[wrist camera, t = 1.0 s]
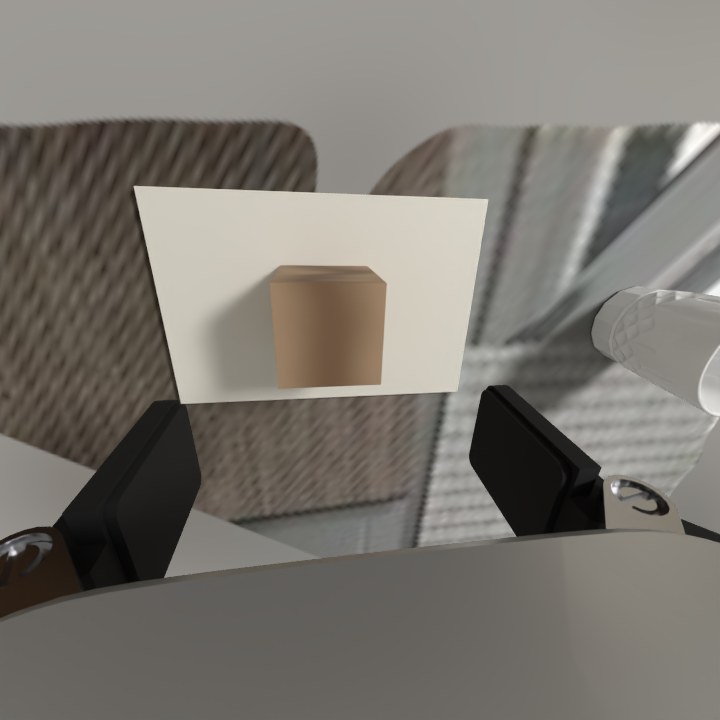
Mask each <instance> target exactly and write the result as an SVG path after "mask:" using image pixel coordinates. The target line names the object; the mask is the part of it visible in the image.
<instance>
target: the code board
mask: <svg viewBox="0 0 720 720" xmlns="http://www.w3.org/2000/svg"><path fill="white" fill-rule="evenodd" d="M134 190H135V195H136V199H137V204H138V209H139V213H140V218H141V222H142V227H143V232H144V236H145V241H146V245H147V250H148V254H149V259H150V264H151V268H152V273H153V277H154V282H155V287H156V291H157V296H158V300H159V305H160V310H161V314H162V319H163V323H164V328H165V332H166V337H167V342H168V346H169V351H170V355H171V360H172V365H173V369H174V374H175V378H176V383H177V388H178V392H179V397H180V401H181V404H192V403H214V402H236V401H259V400H281V399H303V398H326V397H348V396H370V395H393V394H415V393H437V392H457V390H458V383H459V377H460V371H461V365H462V359H463V353H464V346H465V340H466V334H467V328H468V322H469V316H470V309H471V303H472V297H473V291H474V285H475V278H476V272H477V266H478V260H479V254H480V248H481V241H482V235H483V229H484V223H485V217H486V211H487V204H488V199H465V198H439V197H412V196H385V195H359V194H332V193H331V194H330V193H306V192H279V191H252V190H226V189H199V188H172V187H146V186H134ZM280 265H306V266H368V267H369V268H370V269H371V270H372V271H374V272H375V273H376V274H377V275H378V276H379V277H380V278H381V279H383V280H384V281H385V282H386V283H387V288H386V306H385V323H384V341H383V358H382V375H381V385H360V386H336V387H311V388H286V389H278V381H277V369H276V356H275V344H274V332H273V320H272V307H271V295H270V281H271V280H272V278H273V277H274V275H275V273H276V272H277V270H278V268H279V267H280Z"/></svg>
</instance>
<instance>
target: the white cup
mask: <svg viewBox="0 0 720 720" xmlns="http://www.w3.org/2000/svg"><path fill="white" fill-rule="evenodd" d="M591 335H592V340H593V344H594V347H595V348H596V349H598V350H599V351H600V352H601V353H602V354H603V355H605V356H607V357H609V358H610V359H612V360H614V361H616V362H618V363H620V364H621V365H622V366H623V367H625V368H627V369H628V370H630V371H632V372H634V373H636V374H637V375H639V376H641V377H642V378H644V379H646V380H647V381H649V382H651V383H653V384H655V385H657V386H658V387H660V388H662V389H664V390H666V391H668V392H670V393H671V394H673V395H675V396H677V397H679V398H681V399H682V400H684V401H686V402H688V403H690V404H691V405H693V406H695V407H697V408H699V409H700V410H702V411H704V412H706V413H708V414H710V415H712V416H716V417H720V297H718V296H712V295H706V294H699V293H692V292H682V291H677V290H671V291H667V290H658V289H652V288H646V287H641V286H635V287H631V288H628V289H625V290H622V291H619V292H618V293H617V294H616V295H614V296H613V297H612V298H610V299H609V300H608V301H606V302H605V303H604V305H603V306H602V308H601V309H600V311H599V312H598V314H597V315H596V317H595V319H594V323H593V327H592V331H591Z"/></svg>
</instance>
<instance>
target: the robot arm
mask: <svg viewBox="0 0 720 720" xmlns="http://www.w3.org/2000/svg"><path fill="white" fill-rule="evenodd" d="M469 460H470V463H471V466H472V467H473V469H474V470H475V472H476V474H477V475H478V477H479V478H480V480H481V481H482V483H483V484H484V486H485V488H486V489H487V491H488V492H489V494H490V495H491V497H492V499H493V500H494V502H495V503H496V505H497V506H498V508H499V510H500V511H501V513H502V514H503V516H504V517H505V519H506V521H507V522H508V524H509V525H510V527H511V528H512V530H513V531H514V533H515V535H516V536H517V537H509V538H500V539H491V540H481V541H472V542H463V543H453V544H444V545H435V546H426V547H417V548H408V549H400V550H391V551H382V552H373V553H364V554H356V555H347V556H338V557H329V558H321V559H312V560H305V561H296V562H288V563H279V564H270V565H262V566H254V567H245V568H238V569H229V570H221V571H212V572H205V573H197V574H190V575H182V576H175V577H168V578H164V576H165V574H166V571H167V569H168V566H169V564H170V561H171V559H172V556H173V553H174V551H175V549H176V546H177V543H178V541H179V538H180V536H181V533H182V531H183V528H184V526H185V523H186V521H187V518H188V516H189V513H190V511H191V508H192V506H193V503H194V501H195V498H196V496H197V493H198V491H199V488H200V485H201V472H200V468H199V463H198V458H197V454H196V449H195V445H194V440H193V435H192V431H191V426H190V422H189V417H188V412H187V408H186V406H185V405H184V404H180V403H179V401H177V400H162V401H154V402H153V403H152V404H151V406H150V407H149V408H148V409H147V410H146V412H145V413H144V414H143V415H142V417H141V418H140V419H139V420H138V421H137V423H136V424H135V425H134V426H133V428H132V429H131V430H130V431H129V432H128V434H127V435H126V436H125V437H124V439H123V440H122V441H121V442H120V443H119V445H118V446H117V447H116V448H115V450H114V451H113V452H112V453H111V454H110V456H109V457H108V458H107V459H106V461H105V462H104V463H103V464H102V465H101V467H100V468H99V469H98V470H97V472H96V473H95V474H94V475H93V476H92V478H91V479H90V480H89V481H88V483H87V484H86V485H85V486H84V488H83V489H82V490H81V491H80V492H79V494H78V495H77V496H76V497H75V498H74V500H73V501H72V502H71V503H70V505H69V506H68V507H67V508H66V509H65V511H64V512H63V513H62V516H61V517H60V518H59V519H58V521H57V522H56V523H55V524H54V525H53V527H35V528H31V529H27V530H23V531H20V532H18V533H15V534H13V535H10V536H8V537H6V538H4V539H2V540H0V720H720V534H717V533H715V532H713V531H710V530H707V529H705V528H702V527H700V526H697V525H695V524H692V523H690V522H687V521H685V520H682V519H680V516H679V512H678V509H677V508H676V506H675V504H674V503H673V502H672V501H671V499H670V498H669V497H668V496H667V495H665V494H664V493H662V492H661V491H660V490H658V489H657V488H655V487H653V486H651V485H650V484H648V483H646V482H643V481H641V480H638V479H636V478H632V477H628V476H623V475H612V476H608V477H607V478H606V479H604V480H603V479H602V478H601V477H600V476H599V475H598V474H599V472H600V470H601V467H600V466H599V465H598V464H597V463H596V462H595V461H593V460H592V459H591V458H590V457H589V456H588V455H587V454H585V453H584V452H583V451H582V450H581V449H580V448H579V447H577V446H576V445H575V444H574V443H573V442H572V441H571V440H570V439H568V438H567V437H566V436H565V435H564V434H563V433H562V432H560V431H559V430H558V429H557V428H556V427H555V426H554V425H552V424H551V423H550V422H549V421H548V420H547V419H546V418H544V417H543V416H542V415H541V414H540V413H539V412H538V411H536V410H535V409H534V408H533V407H532V406H531V405H530V404H528V403H527V402H526V401H525V400H524V399H523V398H522V397H520V396H519V395H518V394H517V393H516V392H515V391H514V390H512V389H511V388H510V387H509V386H507V385H495V386H488V387H487V389H486V390H484V391H483V392H482V394H481V399H480V404H479V409H478V414H477V419H476V423H475V428H474V433H473V438H472V443H471V448H470V453H469Z"/></svg>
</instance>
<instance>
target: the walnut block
mask: <svg viewBox="0 0 720 720" xmlns="http://www.w3.org/2000/svg"><path fill="white" fill-rule="evenodd" d="M386 288H387V283H386V282H385V281H384V280H383V279H381V278H380V277H379V276H378V275H377V274H376V273H375V272H374V271H372V270H371V269H370V268H369V267H368V266H306V265H280V267H279V268H278V270H277V272H276V273H275V275H274V277H273V278H272V280H271V281H270V295H271V307H272V320H273V332H274V344H275V356H276V369H277V381H278V389H286V388H311V387H336V386H360V385H381V375H382V358H383V341H384V323H385V306H386Z"/></svg>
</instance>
